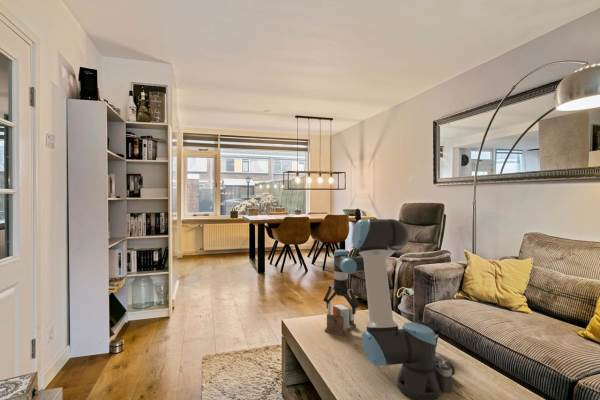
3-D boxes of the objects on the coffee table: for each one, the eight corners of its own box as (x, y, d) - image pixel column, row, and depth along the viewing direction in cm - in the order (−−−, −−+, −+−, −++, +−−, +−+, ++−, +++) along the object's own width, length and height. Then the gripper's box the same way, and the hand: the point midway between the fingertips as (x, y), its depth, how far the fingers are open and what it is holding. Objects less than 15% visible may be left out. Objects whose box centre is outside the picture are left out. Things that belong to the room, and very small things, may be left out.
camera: (466, 390, 119) (467, 363, 119) (443, 394, 117) (443, 367, 116) (439, 368, 134) (439, 344, 134) (418, 371, 132) (418, 347, 132)
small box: (332, 324, 176) (332, 305, 176) (341, 322, 178) (341, 303, 178) (340, 329, 169) (340, 310, 168) (349, 328, 171) (349, 308, 171)
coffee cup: (442, 359, 141) (442, 332, 141) (416, 357, 143) (416, 330, 143) (436, 348, 152) (437, 323, 152) (412, 345, 154) (413, 321, 154)
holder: (342, 337, 163) (343, 319, 163) (324, 332, 169) (324, 314, 169) (356, 325, 178) (356, 309, 178) (338, 321, 184) (338, 305, 184)
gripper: (365, 280, 170) (364, 319, 170) (323, 273, 183) (323, 310, 183) (359, 283, 163) (359, 324, 164) (317, 276, 177) (317, 314, 177)
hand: (340, 317), depth 173 cm, fingers open, 13 cm apart
